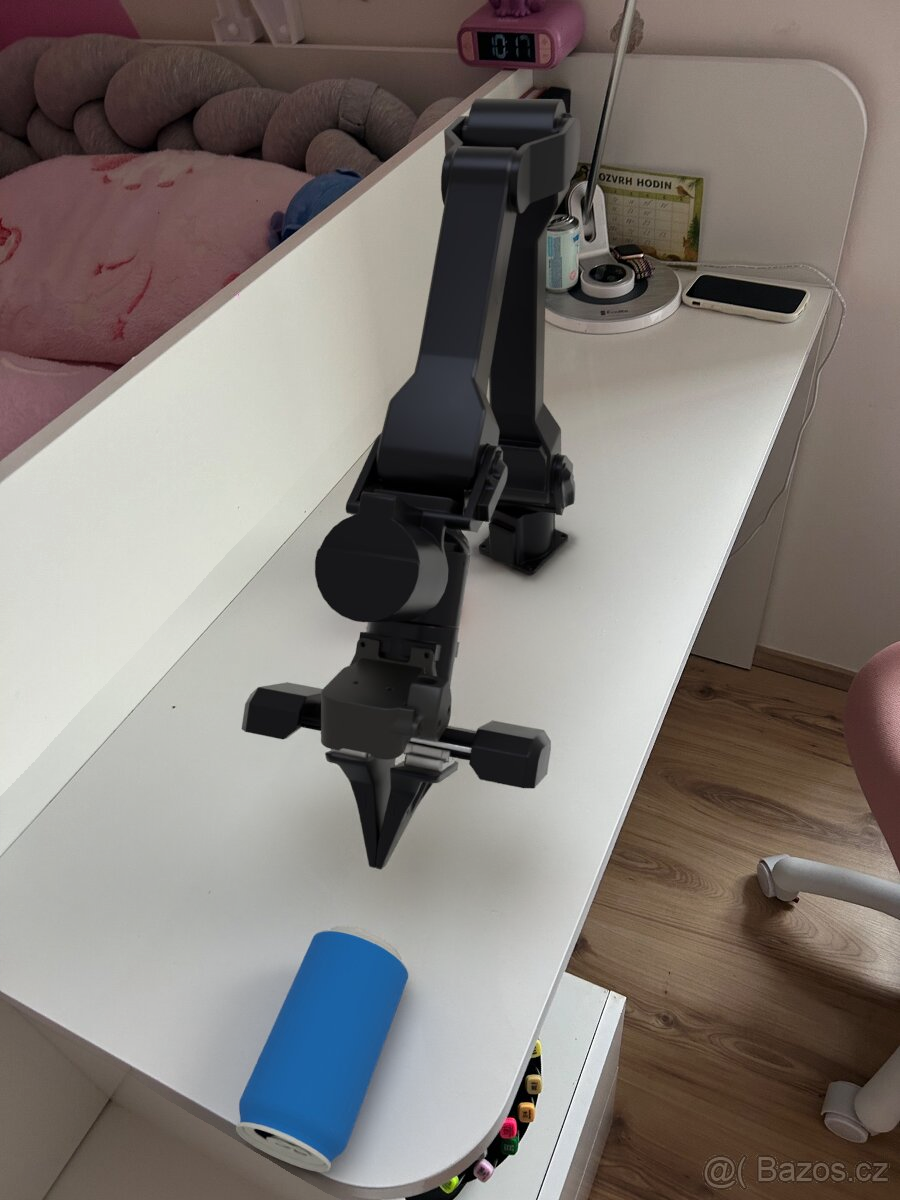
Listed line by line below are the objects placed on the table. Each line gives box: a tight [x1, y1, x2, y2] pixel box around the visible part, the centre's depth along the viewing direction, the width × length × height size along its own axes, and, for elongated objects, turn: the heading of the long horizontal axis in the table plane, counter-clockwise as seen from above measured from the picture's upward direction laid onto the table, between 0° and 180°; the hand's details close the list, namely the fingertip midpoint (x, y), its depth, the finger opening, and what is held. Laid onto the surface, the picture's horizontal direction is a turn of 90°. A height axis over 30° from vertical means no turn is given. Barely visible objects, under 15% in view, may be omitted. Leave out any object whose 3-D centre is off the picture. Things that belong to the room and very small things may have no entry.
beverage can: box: [235, 925, 409, 1173], centre depth 55 cm, size 6×6×12 cm
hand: (377, 866), depth 58 cm, fingers closed
